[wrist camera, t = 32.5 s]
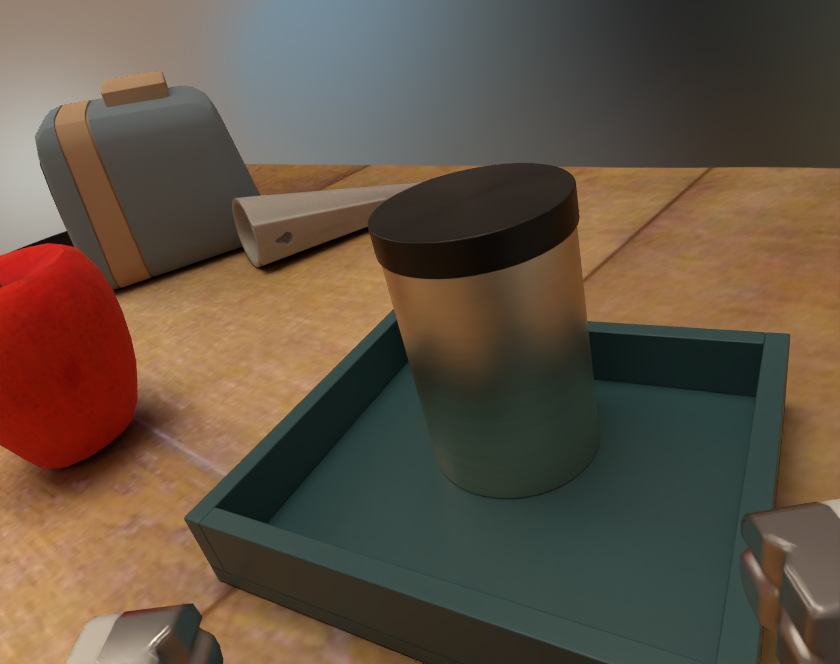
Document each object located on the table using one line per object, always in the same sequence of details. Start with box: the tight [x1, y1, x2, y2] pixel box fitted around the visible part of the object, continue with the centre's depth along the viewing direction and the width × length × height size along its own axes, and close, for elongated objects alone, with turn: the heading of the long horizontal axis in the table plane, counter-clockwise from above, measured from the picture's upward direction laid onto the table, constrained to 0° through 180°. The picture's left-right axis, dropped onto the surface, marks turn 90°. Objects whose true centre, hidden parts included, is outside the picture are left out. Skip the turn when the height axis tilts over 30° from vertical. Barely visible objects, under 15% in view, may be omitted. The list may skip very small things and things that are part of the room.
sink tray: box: [184, 310, 790, 664], centre depth 23 cm, size 18×15×3 cm
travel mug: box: [368, 163, 600, 498], centre depth 23 cm, size 7×7×10 cm
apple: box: [0, 243, 137, 469], centre depth 31 cm, size 9×9×11 cm
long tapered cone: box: [232, 183, 420, 267], centre depth 55 cm, size 6×6×19 cm
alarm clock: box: [35, 71, 261, 289], centre depth 58 cm, size 16×16×16 cm
